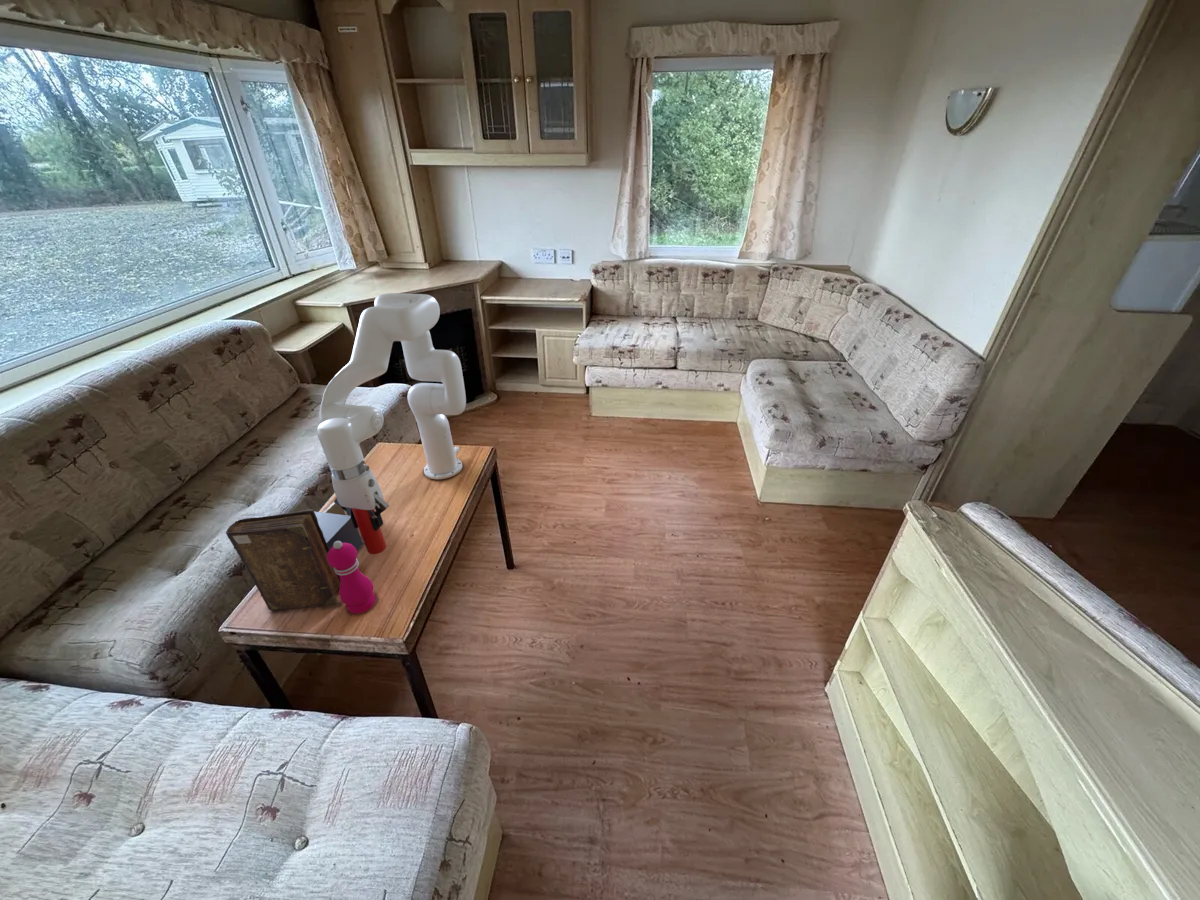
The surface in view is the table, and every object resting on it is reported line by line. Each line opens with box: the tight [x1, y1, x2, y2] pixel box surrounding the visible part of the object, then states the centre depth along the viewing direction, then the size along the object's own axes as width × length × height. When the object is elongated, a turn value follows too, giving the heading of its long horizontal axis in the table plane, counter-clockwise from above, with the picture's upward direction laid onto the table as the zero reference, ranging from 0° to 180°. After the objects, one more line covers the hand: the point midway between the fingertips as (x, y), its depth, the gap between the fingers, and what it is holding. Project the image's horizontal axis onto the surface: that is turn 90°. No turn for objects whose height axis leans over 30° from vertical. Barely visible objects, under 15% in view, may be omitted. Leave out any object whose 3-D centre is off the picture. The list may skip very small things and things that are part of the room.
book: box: [225, 508, 341, 612], centre depth 110 cm, size 17×7×25 cm, turn 93°
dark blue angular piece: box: [314, 510, 364, 552], centre depth 125 cm, size 15×12×10 cm
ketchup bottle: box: [352, 508, 387, 555], centre depth 124 cm, size 5×5×18 cm
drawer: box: [323, 501, 376, 538], centre depth 136 cm, size 18×10×8 cm, turn 169°
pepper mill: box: [327, 541, 377, 615], centre depth 110 cm, size 7×7×20 cm
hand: (369, 525), depth 124 cm, fingers closed on ketchup bottle, 4 cm apart
